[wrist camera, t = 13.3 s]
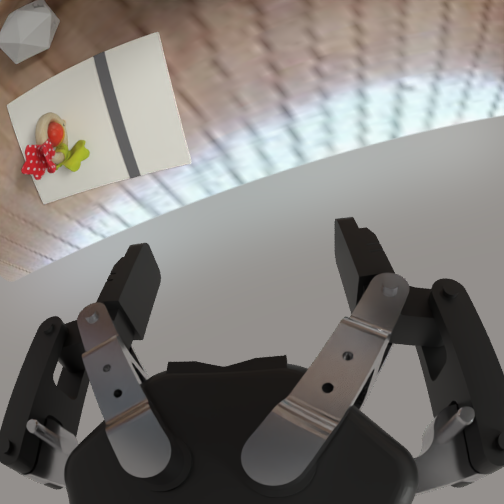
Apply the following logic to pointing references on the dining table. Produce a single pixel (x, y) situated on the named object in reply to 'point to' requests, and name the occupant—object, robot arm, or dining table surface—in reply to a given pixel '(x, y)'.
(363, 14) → the dining table surface
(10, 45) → the die
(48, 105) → the mat
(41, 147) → the bird rattle
